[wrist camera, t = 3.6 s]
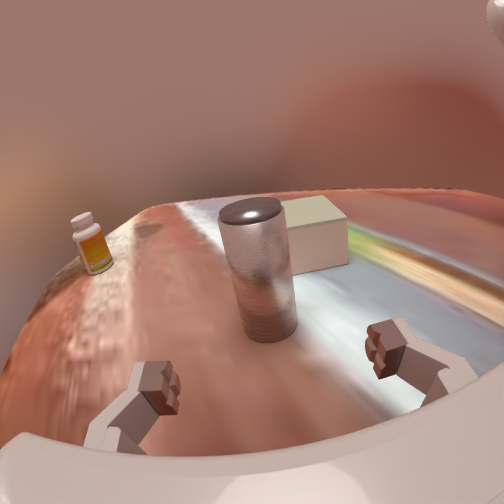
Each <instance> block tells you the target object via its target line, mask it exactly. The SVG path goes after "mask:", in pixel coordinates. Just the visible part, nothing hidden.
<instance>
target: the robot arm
mask: <svg viewBox="0 0 504 504" xmlns="http://www.w3.org/2000/svg"><path fill="white" fill-rule="evenodd" d="M487 19H488V23H489V26H490V29H491V31H492V33H493V35H494V36H495V38H496V40H497V41H498V42H499V44H500V45H501V46H502V47H503V48H504V0H489V2H488V5H487ZM367 334H368V335H369V337H368V338H367V339H366V341H365V350H366V354H367V357H368V359H369V361H371V362H373V363H374V366H373V369H374V371H375V373H376V375H377V377H378V379H383V378H386V377H389V376H392V375H395V374H397V376H399V377H400V378H402V379H403V380H404V381H406V382H407V383H409V384H410V385H412V386H413V387H415V388H416V389H418V390H419V391H421V392H422V393H424V394H425V395H426V397H425V399H424V401H423V403H422V405H421V407H420V408H418V409H416V410H414V411H411V412H409V413H406V414H404V415H401V416H399V417H396V418H394V419H391V420H388V421H386V422H383V423H380V424H377V425H374V426H371V427H368V428H365V429H362V430H359V431H356V432H352V433H349V434H345V435H342V436H338V437H334V438H331V439H327V440H322V441H318V442H314V443H309V444H304V445H300V446H294V447H289V448H283V449H277V450H271V451H263V452H256V453H247V454H236V455H223V456H200V457H174V456H151V455H147V454H146V452H144V451H143V450H142V449H141V448H140V447H139V446H138V445H139V444H140V442H141V441H142V440H143V438H144V437H145V436H146V434H147V433H148V431H149V430H150V429H151V427H152V426H153V425H154V423H155V422H156V421H157V419H158V418H159V416H162V415H178V407H179V401H178V400H177V396H178V395H179V394H180V389H181V387H180V380H179V377H178V375H177V373H176V372H174V371H172V369H173V365H172V364H171V362H170V361H147V362H136V363H135V364H134V366H133V369H132V372H131V376H130V379H129V383H128V386H127V390H126V391H123V392H122V393H121V394H120V395H119V396H118V397H117V398H116V399H115V400H114V401H113V402H112V403H111V404H110V405H109V406H108V407H107V408H105V409H104V410H103V411H102V412H101V413H100V414H99V415H98V416H97V417H96V418H95V419H94V420H93V421H92V422H91V423H90V425H89V428H88V431H87V435H86V438H85V442H84V446H83V447H82V446H77V445H73V444H68V443H64V442H60V441H56V440H52V439H48V438H45V437H41V436H38V435H35V434H32V433H28V432H22V433H20V434H18V435H17V436H16V437H14V438H13V439H12V440H10V441H9V442H8V443H7V444H5V445H4V446H3V447H2V448H1V450H0V504H504V361H503V362H501V363H500V364H498V365H497V366H495V367H494V368H492V369H491V370H489V371H488V372H486V373H485V374H483V375H481V376H480V377H477V375H476V374H475V372H474V371H473V370H472V368H471V367H470V365H469V364H468V363H467V361H466V360H465V358H463V357H461V356H458V355H456V354H454V353H452V352H449V351H447V350H445V349H443V348H440V347H438V346H436V345H434V344H431V343H429V342H427V341H425V340H419V339H418V338H417V336H416V335H415V334H414V332H413V331H412V330H411V328H410V327H409V325H408V324H407V323H406V321H405V320H404V319H403V317H401V316H399V317H396V318H392V319H390V320H386V321H382V322H379V323H375V324H372V325H369V326H368V328H367Z"/></svg>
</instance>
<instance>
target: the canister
mask: <svg viewBox="0 0 504 504" xmlns="http://www.w3.org/2000/svg"><path fill="white" fill-rule="evenodd" d="M218 224H219V228H220V233H221V237H222V241H223V245H224V250H225V254H226V258H227V262H228V266H229V270H230V275H231V279H232V283H233V287H234V291H235V295H236V299H237V303H238V307H239V311H240V315H241V319H242V322H243V326H244V330H245V333H246V335H247V336H248V337H249V338H250V339H252V340H254V341H256V342H260V343H274V342H278V341H281V340H283V339H285V338H287V337H288V336H290V335H291V334H292V333H293V332H294V330H295V329H296V326H297V315H296V304H295V294H294V285H293V276H292V267H291V258H290V250H289V241H288V233H287V225H286V218H285V210H284V207H283V206H282V205H281V202H280V201H279V200H278V199H275V198H270V197H256V198H249V199H244V200H240V201H236V202H234V203H231V204H229V205H227V206H225V207H223V208H222V209H221V210H220V212H219V217H218Z"/></svg>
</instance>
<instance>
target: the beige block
mask: <svg viewBox="0 0 504 504" xmlns="http://www.w3.org/2000/svg"><path fill="white" fill-rule="evenodd" d="M281 205H282V206H283V207H284V210H285V218H286V225H287V233H288V241H289V250H290V258H291V267H292V275H296V274H301V273H306V272H311V271H316V270H321V269H326V268H331V267H335V266H340V265H345V264H348V226H347V216H345V215H344V214H343V213H342V212H341V211H340V210H339V209H338V208H337V207H336V206H334V205H333V204H332V203H331V202H330V201H329V200H328V199H327V198H326V197H324V196H323V195H320V196H313V197H307V198H301V199H295V200H289V201H283V202H281Z"/></svg>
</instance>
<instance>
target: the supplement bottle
mask: <svg viewBox="0 0 504 504" xmlns="http://www.w3.org/2000/svg"><path fill="white" fill-rule="evenodd" d="M71 225H72V228H73V229H75V232H74V234H73V241H74V243H75V246H76V248H77V251H78V253H79V256H80V258H81V260H82V263H83V265H84V267H85V269H86V271H87V273H88V274H89V275H95V274H98V273H101V272H103V271H105V270H107V269H108V268H109V267H110V266H111V265H112V263H113V259H112V256H111V254H110V251H109V249H108V246H107V244H106V241H105V238H104V236H103V233H102V230H101V228H100V226H99V224H97V223H93V216H92V214H91V212H87V213H84V214H81V215H79V216H77V217H75V218H73V219H72V220H71Z"/></svg>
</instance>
